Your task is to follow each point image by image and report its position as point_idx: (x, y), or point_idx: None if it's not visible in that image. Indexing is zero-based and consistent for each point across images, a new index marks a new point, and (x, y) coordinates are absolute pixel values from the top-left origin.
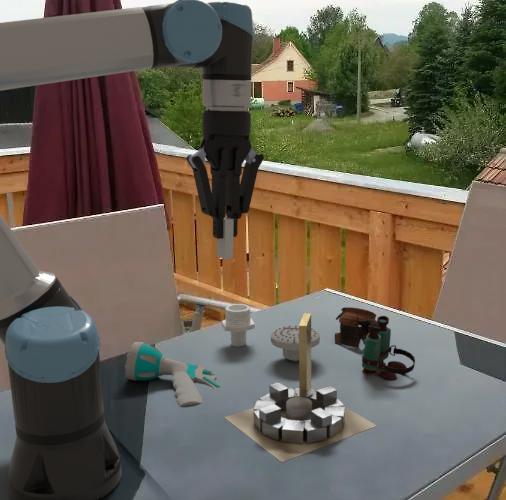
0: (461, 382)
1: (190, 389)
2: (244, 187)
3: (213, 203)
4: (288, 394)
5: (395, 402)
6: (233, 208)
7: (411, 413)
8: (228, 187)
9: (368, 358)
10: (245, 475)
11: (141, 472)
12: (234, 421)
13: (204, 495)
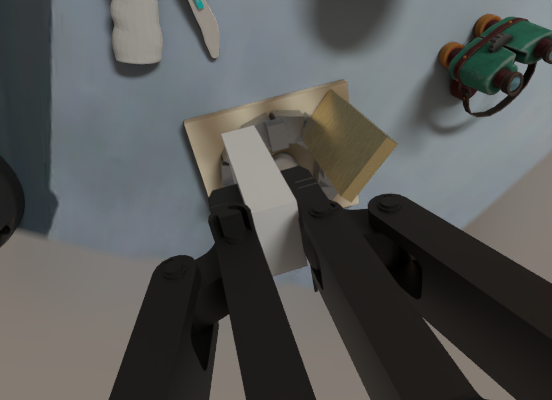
0: (533, 119)
1: (141, 17)
2: (470, 332)
3: (212, 365)
4: (289, 134)
5: (424, 140)
6: (324, 298)
7: (418, 171)
8: (364, 355)
9: (462, 80)
10: (180, 234)
11: (52, 200)
12: (196, 140)
13: (128, 255)
